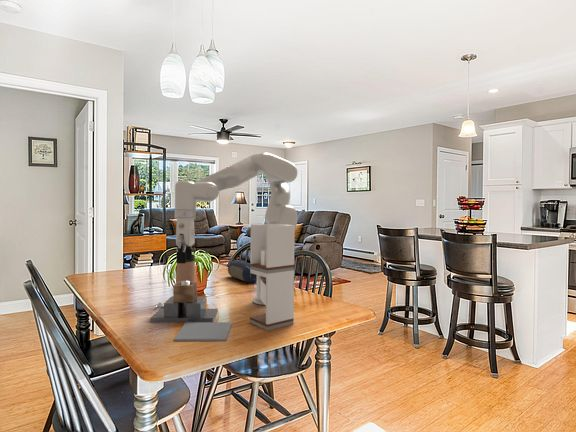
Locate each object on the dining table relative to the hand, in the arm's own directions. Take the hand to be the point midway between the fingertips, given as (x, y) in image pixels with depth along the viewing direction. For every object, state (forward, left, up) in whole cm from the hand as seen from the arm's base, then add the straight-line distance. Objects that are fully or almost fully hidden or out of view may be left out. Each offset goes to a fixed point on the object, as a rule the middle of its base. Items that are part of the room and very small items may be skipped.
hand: (184, 261), depth 138 cm
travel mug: (+5, -22, -21) cm, 31 cm away
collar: (0, 0, -14) cm, 14 cm away
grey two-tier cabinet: (-32, +7, -21) cm, 39 cm away
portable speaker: (-16, -68, -21) cm, 73 cm away
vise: (0, 0, -21) cm, 21 cm away
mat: (-10, +16, -21) cm, 28 cm away
